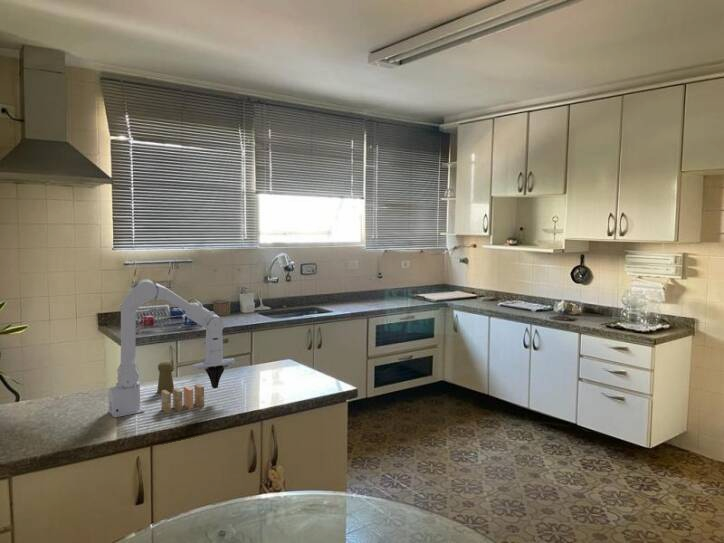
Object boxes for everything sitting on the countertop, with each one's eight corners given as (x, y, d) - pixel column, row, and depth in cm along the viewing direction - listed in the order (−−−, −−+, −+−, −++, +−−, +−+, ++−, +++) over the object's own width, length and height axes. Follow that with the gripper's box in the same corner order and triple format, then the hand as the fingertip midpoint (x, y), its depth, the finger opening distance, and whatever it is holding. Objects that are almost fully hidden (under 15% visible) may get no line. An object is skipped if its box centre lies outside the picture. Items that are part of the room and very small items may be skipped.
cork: (170, 394, 199) (170, 364, 198) (154, 394, 200) (153, 364, 199) (176, 389, 205) (176, 360, 205) (160, 389, 206) (160, 360, 205)
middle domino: (178, 411, 182) (177, 392, 181) (173, 407, 186) (172, 388, 185) (182, 410, 183) (182, 391, 182) (177, 406, 187) (176, 387, 186)
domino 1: (166, 413, 179) (166, 394, 179) (161, 409, 183) (161, 390, 183) (171, 412, 180) (170, 393, 180) (165, 408, 184) (165, 389, 184)
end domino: (200, 406, 186) (200, 388, 186) (194, 402, 190) (194, 384, 190) (204, 406, 187) (204, 387, 187) (198, 402, 191) (198, 384, 191)
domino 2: (189, 408, 184) (188, 390, 184) (183, 405, 188) (183, 386, 188) (193, 408, 185) (193, 389, 185) (187, 404, 189) (187, 385, 188)
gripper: (228, 344, 198) (229, 381, 200) (189, 350, 189) (190, 388, 191) (237, 348, 193) (237, 385, 194) (197, 353, 184) (198, 393, 185)
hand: (214, 387), depth 192 cm, fingers closed
